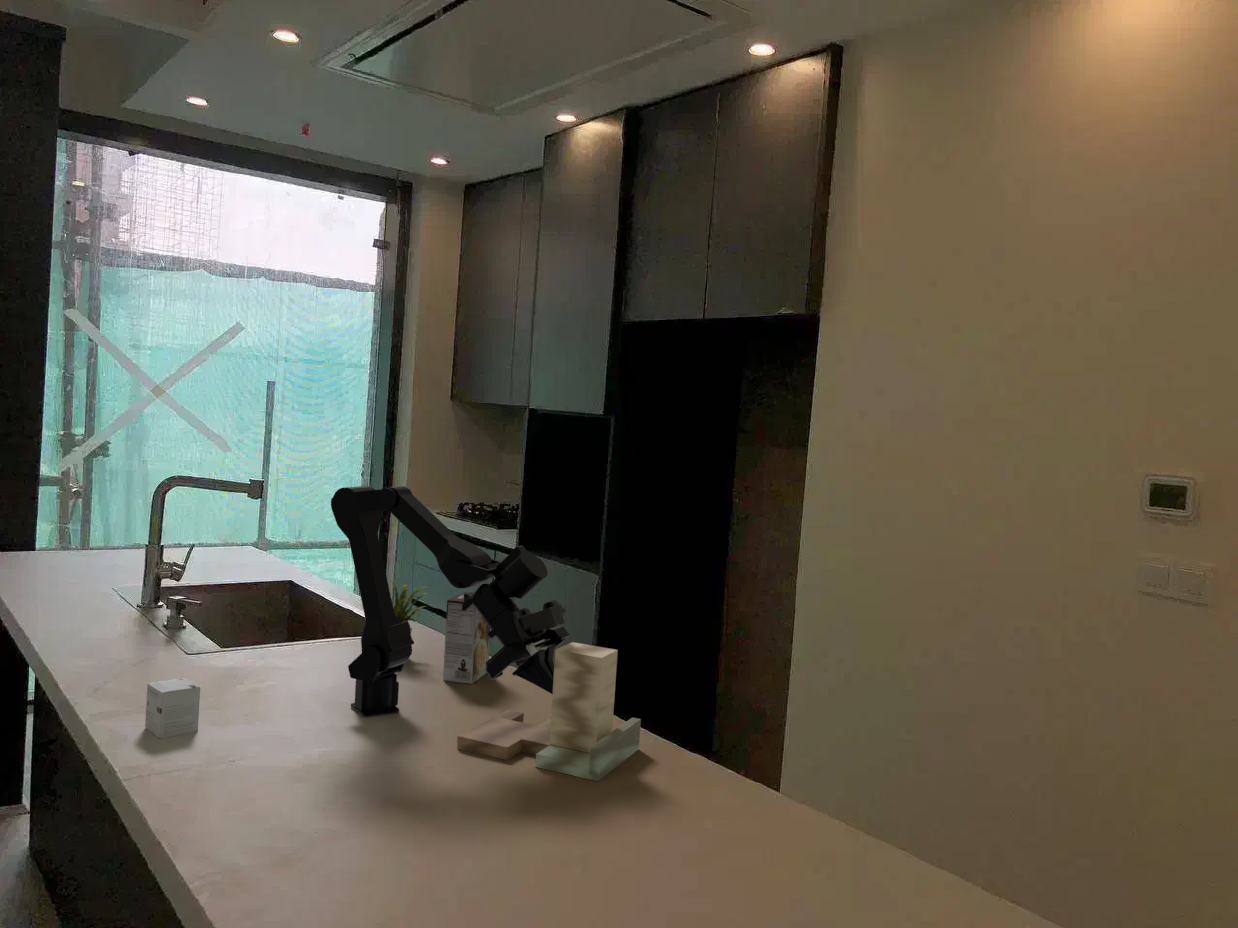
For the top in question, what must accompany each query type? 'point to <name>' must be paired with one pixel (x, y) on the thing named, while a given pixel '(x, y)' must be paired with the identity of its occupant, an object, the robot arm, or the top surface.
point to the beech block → (582, 695)
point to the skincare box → (172, 707)
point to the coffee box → (465, 643)
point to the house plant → (398, 605)
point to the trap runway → (515, 736)
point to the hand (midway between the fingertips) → (559, 693)
